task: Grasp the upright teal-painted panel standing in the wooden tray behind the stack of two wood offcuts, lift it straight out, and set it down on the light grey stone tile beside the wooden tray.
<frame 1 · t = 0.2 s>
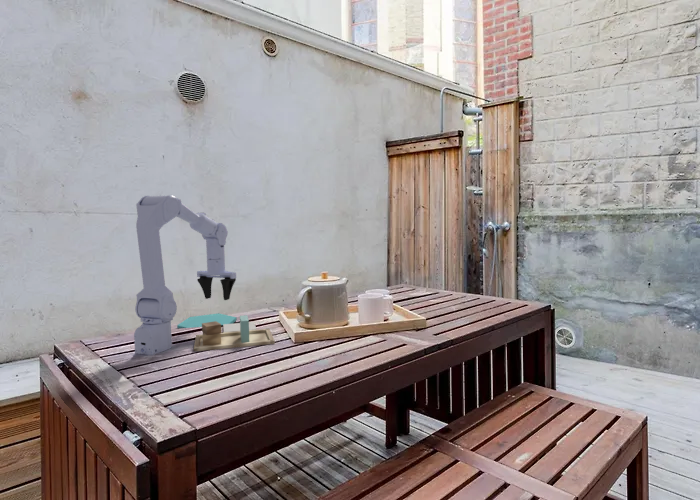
hand: (217, 298, 148), 10 cm above the table, fingers open, 7 cm apart
panel: (244, 339, 131), point 1 cm above the table, touching wooden tray
offcut a: (212, 342, 129), point 1 cm above the table, touching offcut b, wooden tray
tile: (239, 332, 143), on the table
wooden tray: (234, 344, 130), on the table
offcut b: (211, 332, 128), point 4 cm above the table, touching offcut a
plaque: (207, 326, 154), on the table
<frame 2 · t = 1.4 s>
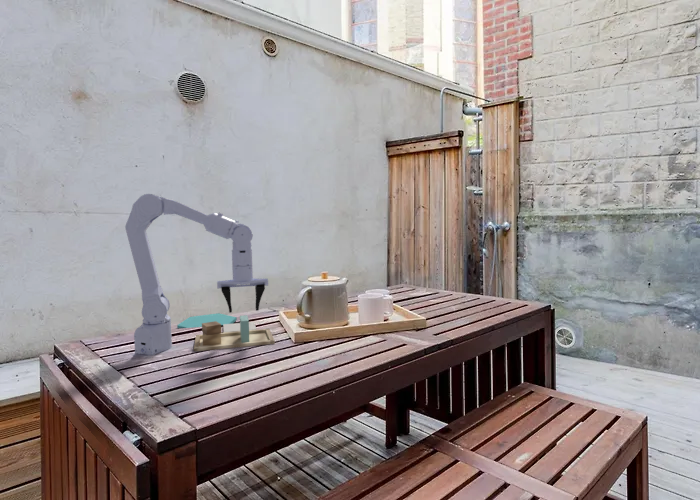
hand: (243, 310, 130), 10 cm above the table, fingers open, 7 cm apart
nothing on the table moved.
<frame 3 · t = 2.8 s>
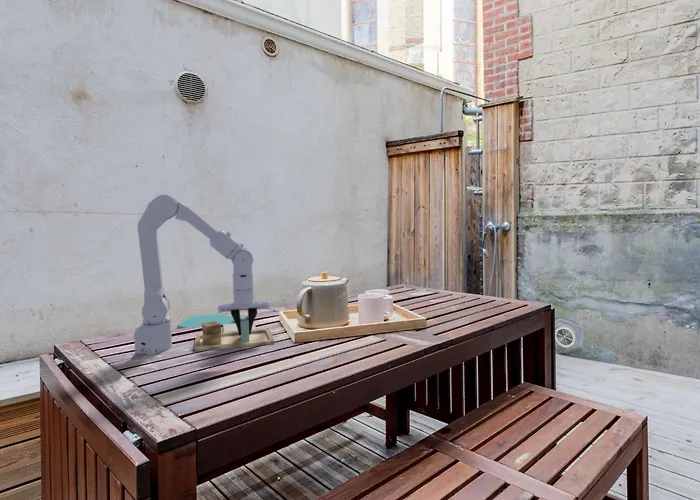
hand: (244, 334, 131), 3 cm above the table, fingers closed on panel, 2 cm apart
panel: (244, 339, 131), point 1 cm above the table, touching gripper, wooden tray
everything else where it was.
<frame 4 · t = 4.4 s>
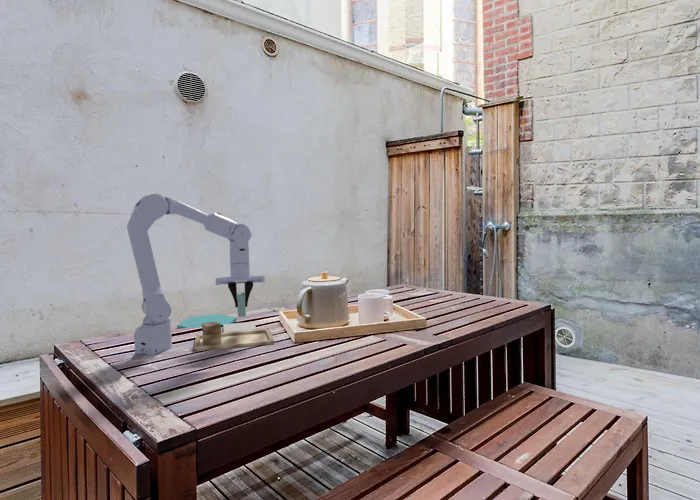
hand: (241, 306, 136), 10 cm above the table, fingers closed on panel, 2 cm apart
panel: (241, 314, 136), point 8 cm above the table, touching gripper
everything else where it was.
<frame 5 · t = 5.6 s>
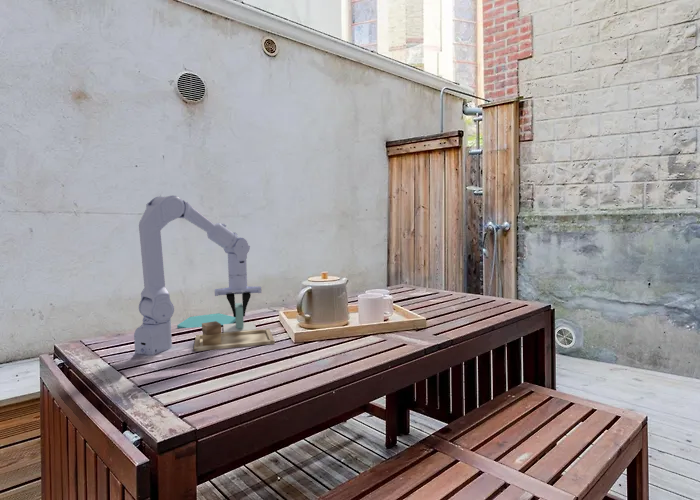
hand: (239, 316, 142), 5 cm above the table, fingers closed on panel, 2 cm apart
panel: (239, 325, 143), point 3 cm above the table, touching gripper
everything else where it was.
when the fingers open (5 cm above the table, at t = 6.0 s): panel stays where it is, resting on tile.
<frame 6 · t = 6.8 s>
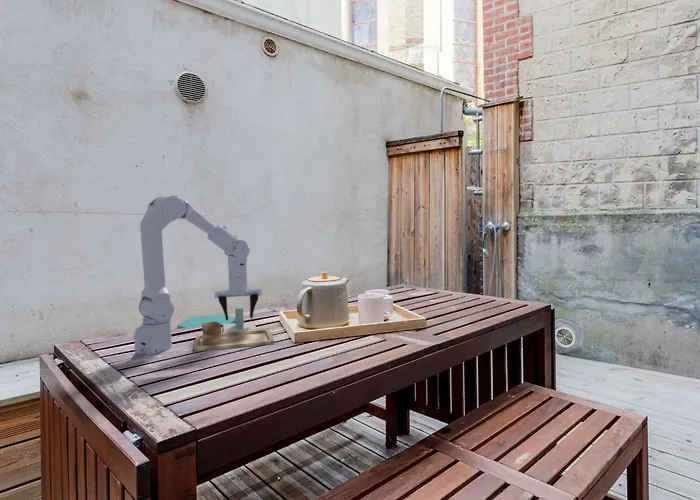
hand: (239, 318, 142), 5 cm above the table, fingers open, 7 cm apart
panel: (239, 326, 143), point 2 cm above the table, touching tile
everything else where it was.
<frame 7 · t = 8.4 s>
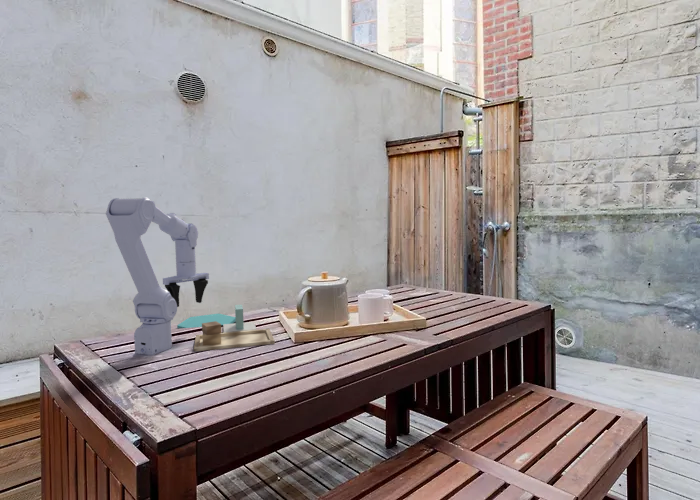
hand: (187, 304, 139), 10 cm above the table, fingers open, 7 cm apart
nothing on the table moved.
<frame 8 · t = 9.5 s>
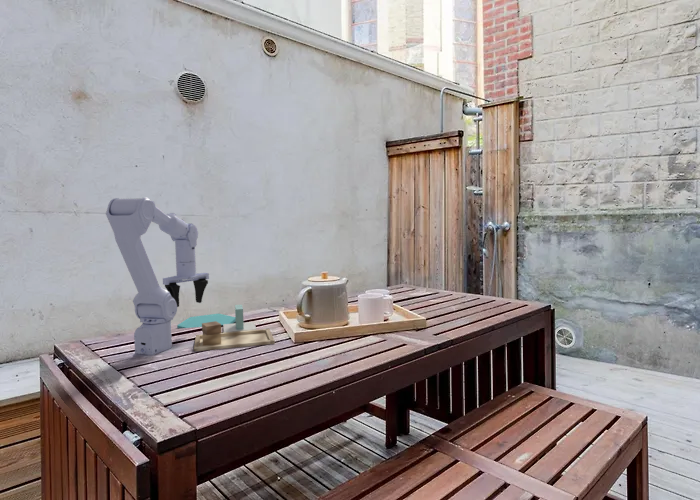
hand: (187, 304, 139), 10 cm above the table, fingers open, 7 cm apart
nothing on the table moved.
at the end: panel inside the target area on the tile (0.0 cm from its centre), point 2.0 cm above the tile's base; the gripper is holding nothing; offcut a moved 0.1 cm from its start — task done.
